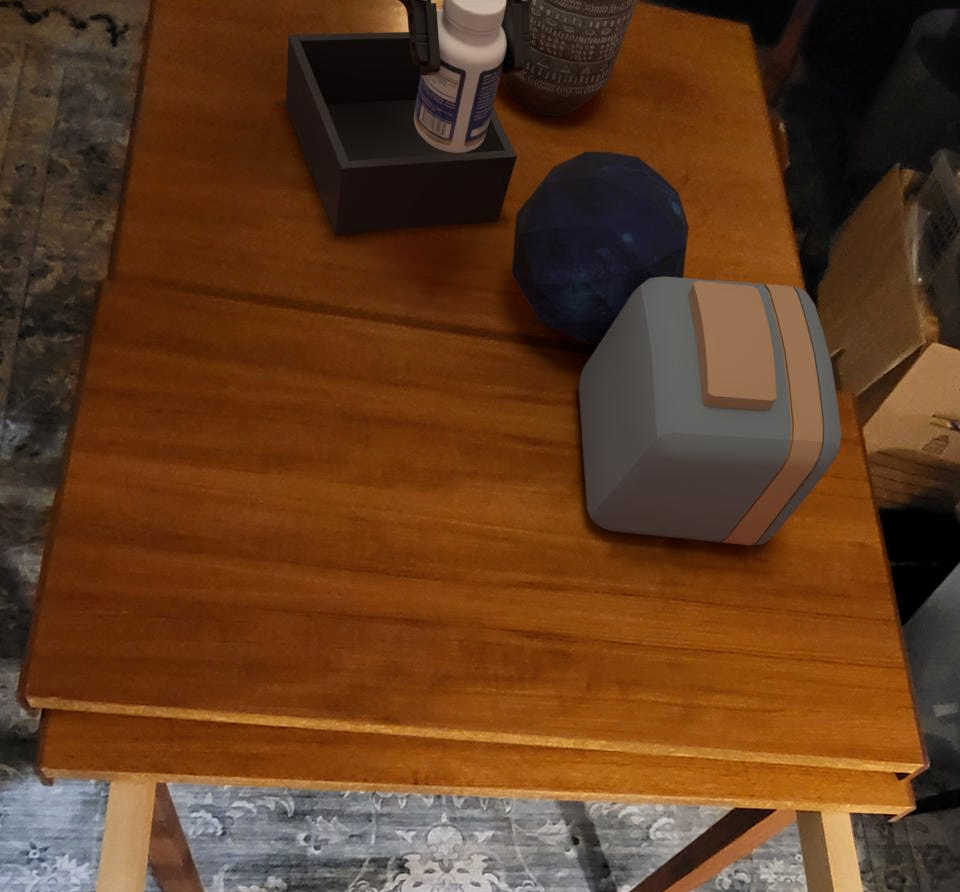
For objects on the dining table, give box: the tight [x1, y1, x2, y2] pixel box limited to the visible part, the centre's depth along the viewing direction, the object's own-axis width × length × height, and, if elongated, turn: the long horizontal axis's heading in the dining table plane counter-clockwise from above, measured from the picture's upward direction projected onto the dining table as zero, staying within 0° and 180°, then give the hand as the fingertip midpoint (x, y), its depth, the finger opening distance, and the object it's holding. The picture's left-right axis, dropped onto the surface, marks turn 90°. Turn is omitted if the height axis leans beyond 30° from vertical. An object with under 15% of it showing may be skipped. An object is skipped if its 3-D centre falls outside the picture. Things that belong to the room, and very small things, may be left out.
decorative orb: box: [511, 150, 690, 346], centre depth 79 cm, size 14×15×15 cm
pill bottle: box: [414, 0, 507, 153], centre depth 65 cm, size 5×5×10 cm
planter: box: [500, 0, 638, 117], centre depth 90 cm, size 12×12×13 cm
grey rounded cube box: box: [578, 277, 842, 546], centre depth 73 cm, size 16×16×16 cm
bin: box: [285, 31, 518, 236], centre depth 84 cm, size 16×16×7 cm
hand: (472, 71), depth 64 cm, fingers closed on pill bottle, 5 cm apart
